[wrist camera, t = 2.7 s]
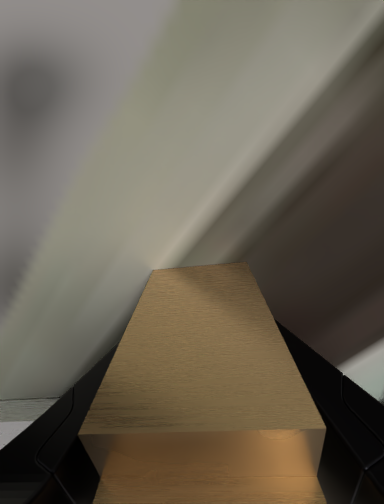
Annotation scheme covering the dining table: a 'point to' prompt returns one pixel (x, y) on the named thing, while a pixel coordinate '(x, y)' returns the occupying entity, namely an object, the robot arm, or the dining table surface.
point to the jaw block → (204, 400)
